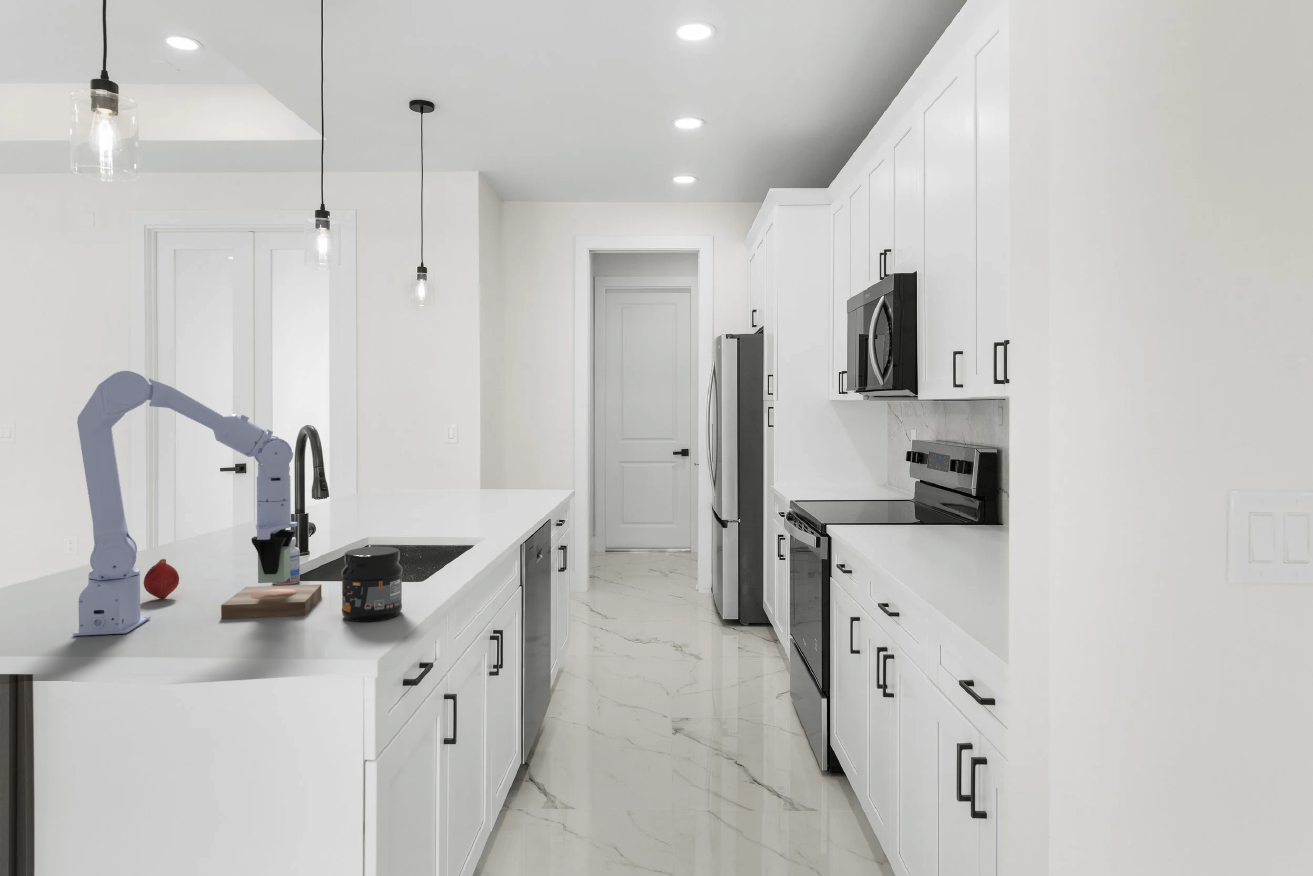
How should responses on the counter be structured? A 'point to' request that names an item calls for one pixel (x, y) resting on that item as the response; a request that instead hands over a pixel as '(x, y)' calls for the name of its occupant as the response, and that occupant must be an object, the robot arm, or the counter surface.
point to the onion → (161, 580)
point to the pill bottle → (293, 565)
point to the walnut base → (271, 601)
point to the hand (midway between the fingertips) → (274, 571)
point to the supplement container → (371, 584)
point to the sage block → (282, 571)
